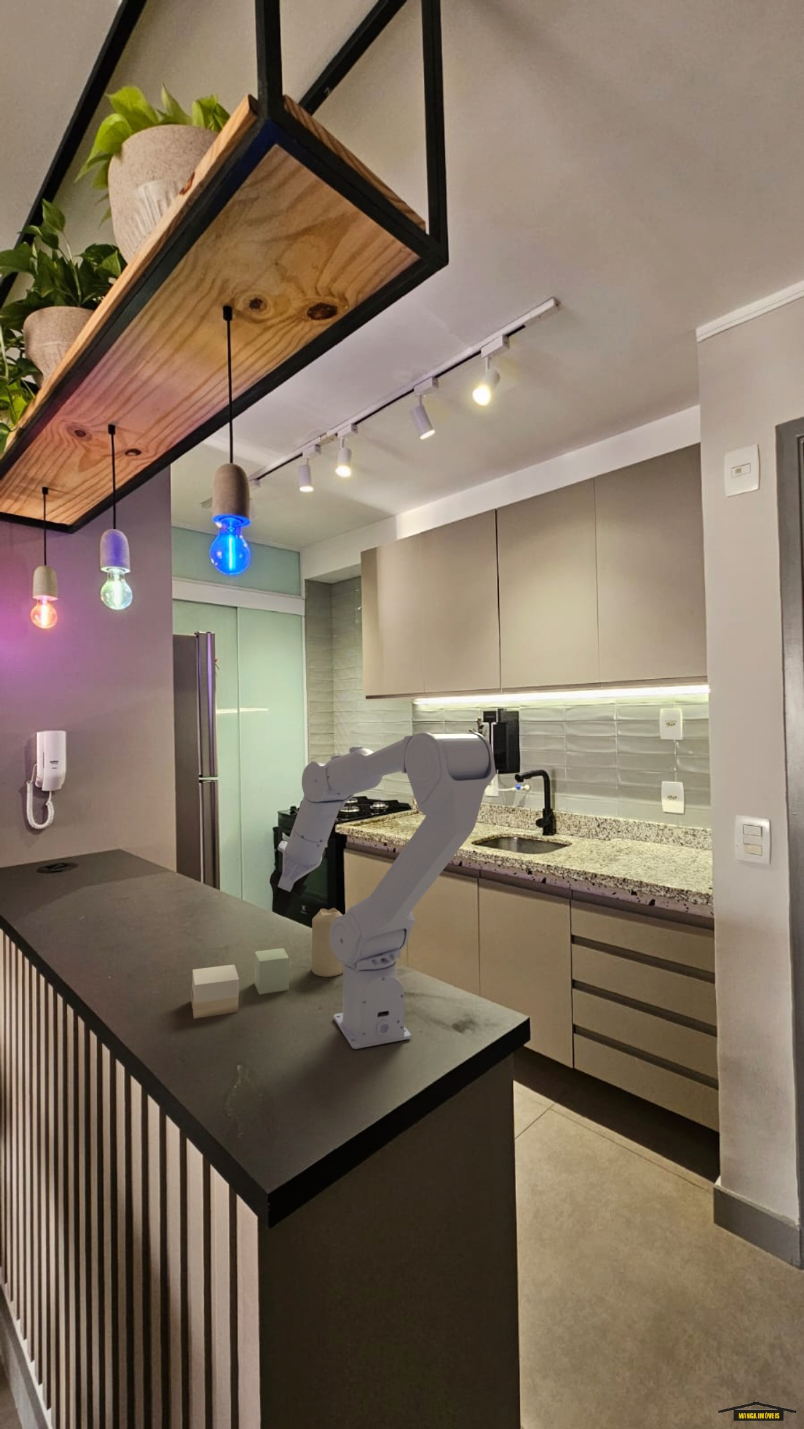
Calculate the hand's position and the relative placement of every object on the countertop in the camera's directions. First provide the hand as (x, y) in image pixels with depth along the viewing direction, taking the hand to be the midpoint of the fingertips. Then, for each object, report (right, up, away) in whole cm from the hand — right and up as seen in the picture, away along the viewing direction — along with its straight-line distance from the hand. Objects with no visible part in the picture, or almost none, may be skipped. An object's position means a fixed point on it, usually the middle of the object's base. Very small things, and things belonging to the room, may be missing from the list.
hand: (287, 898), depth 102 cm
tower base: (-9, -13, -10) cm, 19 cm away
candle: (+6, -13, +3) cm, 15 cm away
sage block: (-2, -13, -3) cm, 13 cm away
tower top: (-9, -11, -10) cm, 17 cm away
